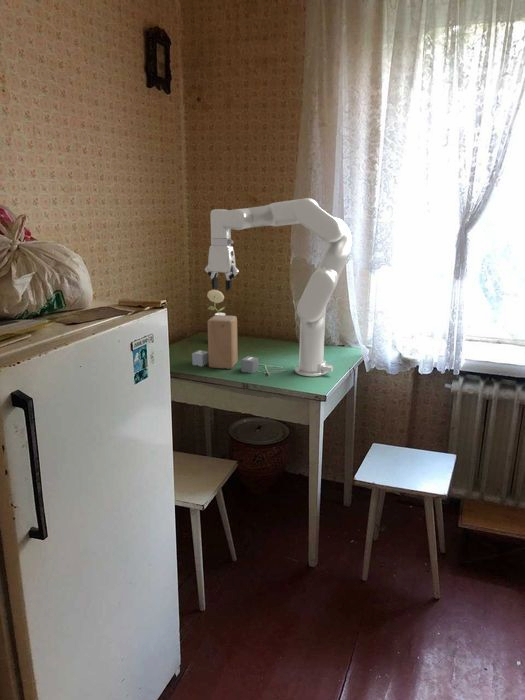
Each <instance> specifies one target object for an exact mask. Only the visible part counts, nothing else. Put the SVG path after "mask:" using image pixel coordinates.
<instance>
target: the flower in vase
mask: <svg viewBox="0 0 525 700" xmlns="http://www.w3.org/2000/svg"><path fill="white" fill-rule="evenodd" d="M206 296H207V298H208V299H209V301H210V302H212V303H214V306H213V305H210V306H209V307H207V310H210V311H215V310H216V313H214V315H226V313H225V312H221V311H223V310H225V308H226V306H223V307H221V308H220V309H217V308H216V304H220V303H221V302H223V303H224V299H225V296H224V294H223V293H222V291H219V290H218V289H211V290H209V291H207V295H206Z"/></svg>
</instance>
